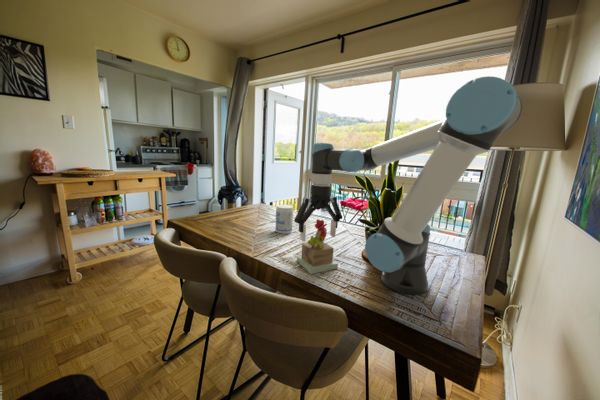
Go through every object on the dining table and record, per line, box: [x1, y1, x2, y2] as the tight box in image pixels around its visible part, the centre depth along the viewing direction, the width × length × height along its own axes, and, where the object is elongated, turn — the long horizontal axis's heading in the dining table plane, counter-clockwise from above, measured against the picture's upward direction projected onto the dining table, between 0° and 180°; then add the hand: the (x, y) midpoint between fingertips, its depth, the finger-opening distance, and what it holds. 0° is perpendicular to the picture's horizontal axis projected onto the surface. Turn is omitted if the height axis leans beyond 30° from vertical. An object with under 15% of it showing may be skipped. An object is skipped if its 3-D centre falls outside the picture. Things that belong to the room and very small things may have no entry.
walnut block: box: [301, 241, 334, 267], centre depth 97 cm, size 9×9×6 cm
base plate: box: [296, 255, 339, 275], centre depth 98 cm, size 12×12×2 cm
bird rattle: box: [306, 218, 328, 248], centre depth 96 cm, size 6×11×9 cm
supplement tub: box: [275, 204, 294, 235], centre depth 136 cm, size 10×10×15 cm
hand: (318, 238), depth 96 cm, fingers open, 13 cm apart
